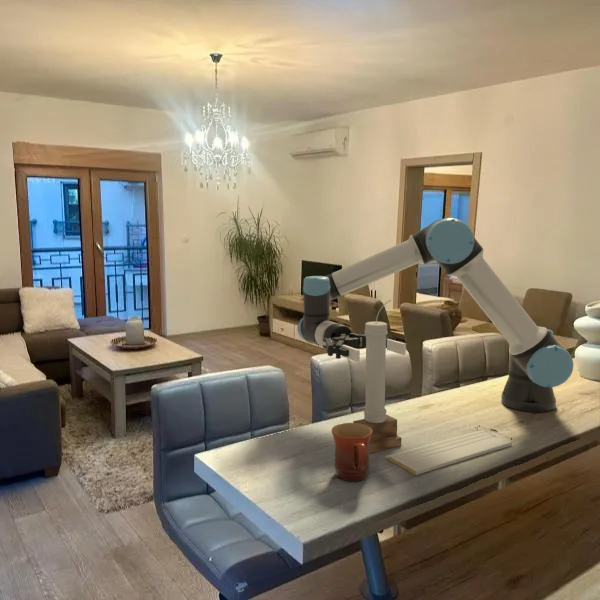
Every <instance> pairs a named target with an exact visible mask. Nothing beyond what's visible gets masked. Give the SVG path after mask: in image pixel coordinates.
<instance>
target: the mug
mask: <svg viewBox="0 0 600 600" xmlns="http://www.w3.org/2000/svg"><path fill="white" fill-rule="evenodd" d="M372 432H373V431H372V429H371V428H370V427H369V426H367V425H364V424H359V423H353V422H343V423H338V424H336V425H334V426H332V428H331V433H332V436H333V440H334V441H333V442H334V463H333V465H334V469H335V474H336V476H337V477H338V478H340V479H341V480H344V481H347V482H359V481H363V479H365V478H366V477H368V474H369V469H370V453H369V442H370V439H371V436H372Z"/></svg>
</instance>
